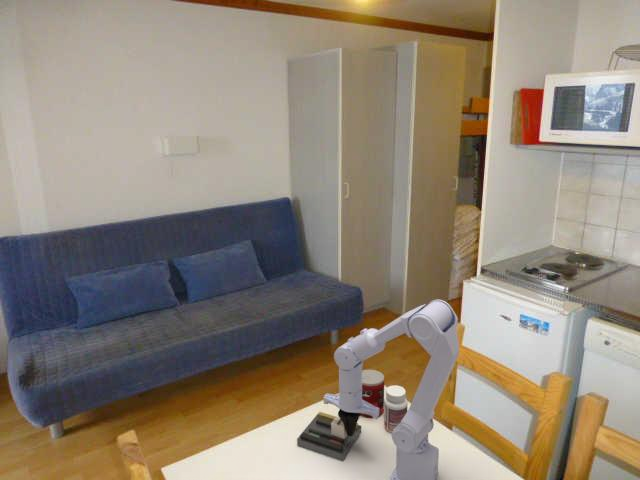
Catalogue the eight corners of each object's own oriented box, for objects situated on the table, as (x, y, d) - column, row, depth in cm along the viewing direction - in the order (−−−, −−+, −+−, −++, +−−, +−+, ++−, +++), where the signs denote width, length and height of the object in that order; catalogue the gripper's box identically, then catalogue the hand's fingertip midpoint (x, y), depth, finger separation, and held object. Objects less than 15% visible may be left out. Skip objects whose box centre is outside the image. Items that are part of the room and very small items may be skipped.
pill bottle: (411, 428, 127) (412, 392, 124) (394, 437, 124) (395, 400, 121) (396, 417, 132) (396, 381, 129) (379, 425, 129) (379, 389, 126)
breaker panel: (361, 432, 126) (361, 422, 126) (342, 461, 116) (342, 451, 115) (318, 419, 132) (318, 409, 131) (297, 445, 122) (296, 435, 121)
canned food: (352, 405, 138) (351, 372, 135) (377, 399, 140) (377, 367, 137) (362, 421, 131) (362, 386, 128) (388, 415, 133) (388, 380, 130)
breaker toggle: (348, 433, 123) (348, 420, 121) (343, 440, 120) (343, 426, 119) (335, 430, 124) (335, 416, 123) (331, 436, 122) (331, 422, 121)
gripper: (383, 385, 117) (383, 432, 121) (331, 372, 123) (332, 416, 127) (373, 401, 111) (373, 449, 115) (319, 386, 117) (320, 432, 121)
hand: (350, 433), depth 120 cm, fingers closed
